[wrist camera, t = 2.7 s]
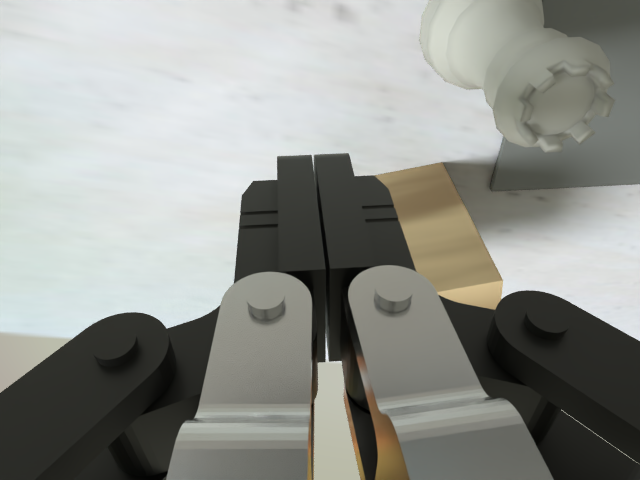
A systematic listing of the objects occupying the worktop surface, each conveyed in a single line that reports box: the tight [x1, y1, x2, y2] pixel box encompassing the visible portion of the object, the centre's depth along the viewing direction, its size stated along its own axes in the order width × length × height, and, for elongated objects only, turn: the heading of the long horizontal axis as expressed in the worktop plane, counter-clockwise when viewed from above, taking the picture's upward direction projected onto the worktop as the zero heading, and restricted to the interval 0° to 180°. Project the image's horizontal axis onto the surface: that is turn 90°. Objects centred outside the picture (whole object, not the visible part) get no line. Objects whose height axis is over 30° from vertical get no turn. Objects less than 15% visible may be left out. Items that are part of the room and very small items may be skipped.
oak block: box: [375, 162, 503, 310], centre depth 22 cm, size 4×4×8 cm
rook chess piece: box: [419, 0, 615, 153], centre depth 16 cm, size 4×4×8 cm
